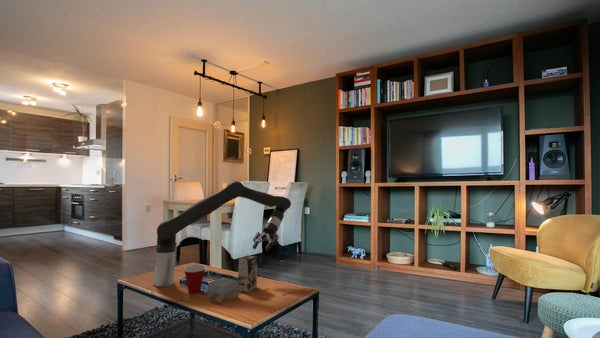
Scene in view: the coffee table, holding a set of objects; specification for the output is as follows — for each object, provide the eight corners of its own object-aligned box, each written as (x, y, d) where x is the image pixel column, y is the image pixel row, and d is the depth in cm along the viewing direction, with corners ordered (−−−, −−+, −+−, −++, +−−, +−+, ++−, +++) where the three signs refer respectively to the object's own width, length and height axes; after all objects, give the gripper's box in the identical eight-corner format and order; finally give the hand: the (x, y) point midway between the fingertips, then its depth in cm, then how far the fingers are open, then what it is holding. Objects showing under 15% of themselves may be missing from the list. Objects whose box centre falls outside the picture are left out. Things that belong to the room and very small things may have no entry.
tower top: (208, 291, 146) (208, 282, 146) (222, 285, 154) (222, 277, 154) (223, 295, 141) (223, 286, 141) (237, 289, 149) (237, 280, 150)
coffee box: (248, 292, 156) (249, 259, 157) (237, 290, 158) (238, 258, 159) (257, 287, 165) (257, 255, 166) (246, 285, 167) (246, 254, 168)
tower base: (207, 300, 145) (207, 291, 146) (222, 294, 154) (222, 285, 154) (223, 304, 141) (223, 295, 141) (238, 298, 149) (238, 289, 150)
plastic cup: (177, 293, 153) (178, 268, 154) (191, 287, 163) (192, 263, 164) (196, 296, 150) (197, 270, 150) (209, 289, 160) (210, 265, 161)
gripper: (259, 221, 184) (246, 243, 173) (280, 222, 177) (268, 246, 166) (264, 229, 188) (252, 252, 177) (285, 231, 181) (273, 255, 171)
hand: (260, 249), depth 172 cm, fingers open, 8 cm apart
